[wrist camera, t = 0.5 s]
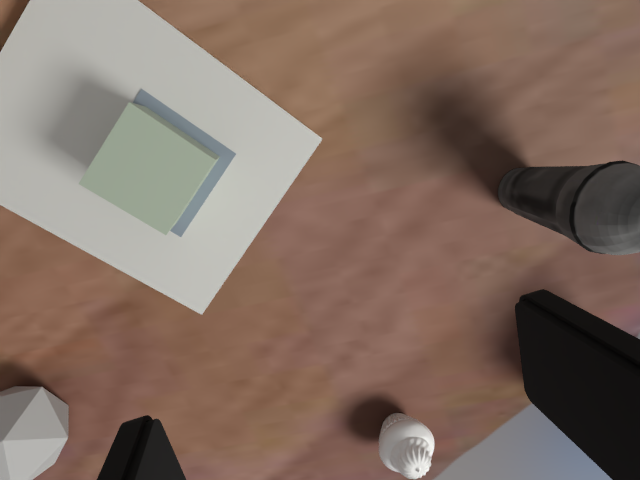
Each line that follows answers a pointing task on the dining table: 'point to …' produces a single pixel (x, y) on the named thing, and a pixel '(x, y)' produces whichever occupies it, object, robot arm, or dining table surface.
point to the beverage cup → (580, 203)
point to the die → (30, 431)
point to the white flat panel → (101, 116)
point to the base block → (149, 168)
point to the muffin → (406, 445)
